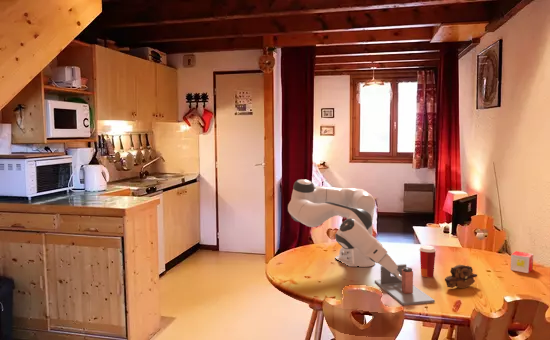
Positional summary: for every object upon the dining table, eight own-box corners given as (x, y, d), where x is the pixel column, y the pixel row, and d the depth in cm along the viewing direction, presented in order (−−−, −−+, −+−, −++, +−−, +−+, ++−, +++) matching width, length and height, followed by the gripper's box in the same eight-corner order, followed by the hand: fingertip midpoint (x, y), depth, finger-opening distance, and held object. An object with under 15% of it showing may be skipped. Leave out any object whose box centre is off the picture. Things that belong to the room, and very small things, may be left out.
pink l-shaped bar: (385, 279, 207) (385, 257, 206) (393, 278, 208) (393, 257, 207) (405, 294, 189) (405, 270, 188) (413, 293, 190) (413, 269, 189)
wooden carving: (451, 292, 194) (451, 270, 193) (443, 288, 198) (444, 267, 197) (479, 286, 200) (479, 264, 199) (471, 283, 204) (471, 261, 203)
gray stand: (374, 282, 208) (374, 263, 207) (402, 279, 210) (402, 261, 209) (403, 305, 180) (403, 283, 179) (434, 302, 183) (435, 281, 182)
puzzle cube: (510, 269, 222) (511, 254, 221) (515, 266, 228) (515, 251, 227) (528, 273, 217) (529, 257, 216) (532, 269, 222) (533, 253, 222)
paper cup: (435, 273, 218) (436, 245, 216) (435, 279, 210) (436, 250, 209) (418, 272, 220) (419, 244, 219) (418, 277, 213) (418, 248, 212)
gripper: (357, 248, 195) (377, 268, 198) (376, 262, 175) (398, 284, 178) (367, 237, 196) (387, 258, 198) (387, 250, 176) (409, 273, 178)
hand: (393, 270), depth 188 cm, fingers open, 8 cm apart
